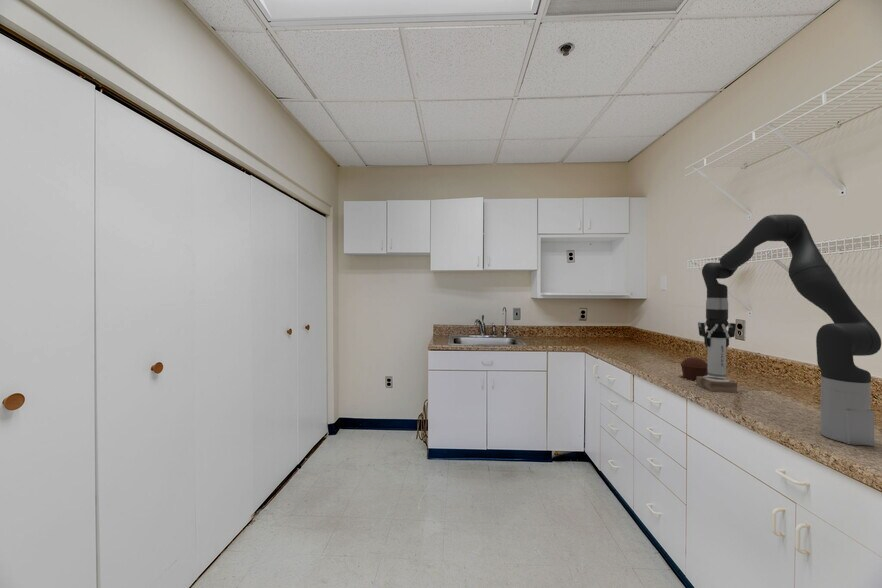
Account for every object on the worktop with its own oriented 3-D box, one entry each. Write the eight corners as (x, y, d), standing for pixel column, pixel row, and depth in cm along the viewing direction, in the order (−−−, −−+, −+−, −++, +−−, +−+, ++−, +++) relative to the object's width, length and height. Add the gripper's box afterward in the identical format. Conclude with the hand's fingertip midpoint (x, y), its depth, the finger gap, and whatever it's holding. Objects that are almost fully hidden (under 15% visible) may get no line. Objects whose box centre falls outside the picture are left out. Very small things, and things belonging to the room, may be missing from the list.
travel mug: (706, 373, 152) (706, 328, 152) (725, 375, 147) (725, 329, 147) (706, 375, 147) (706, 329, 147) (726, 378, 143) (726, 330, 143)
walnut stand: (737, 392, 142) (737, 381, 142) (710, 391, 143) (711, 380, 143) (720, 385, 152) (720, 375, 152) (696, 384, 153) (696, 375, 153)
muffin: (709, 383, 156) (709, 361, 156) (680, 379, 163) (680, 358, 163) (708, 378, 165) (709, 357, 165) (681, 374, 172) (681, 355, 172)
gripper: (704, 308, 144) (704, 347, 144) (741, 308, 142) (741, 348, 142) (693, 307, 152) (693, 344, 152) (729, 308, 150) (728, 345, 150)
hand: (716, 346), depth 147 cm, fingers closed on travel mug, 6 cm apart
